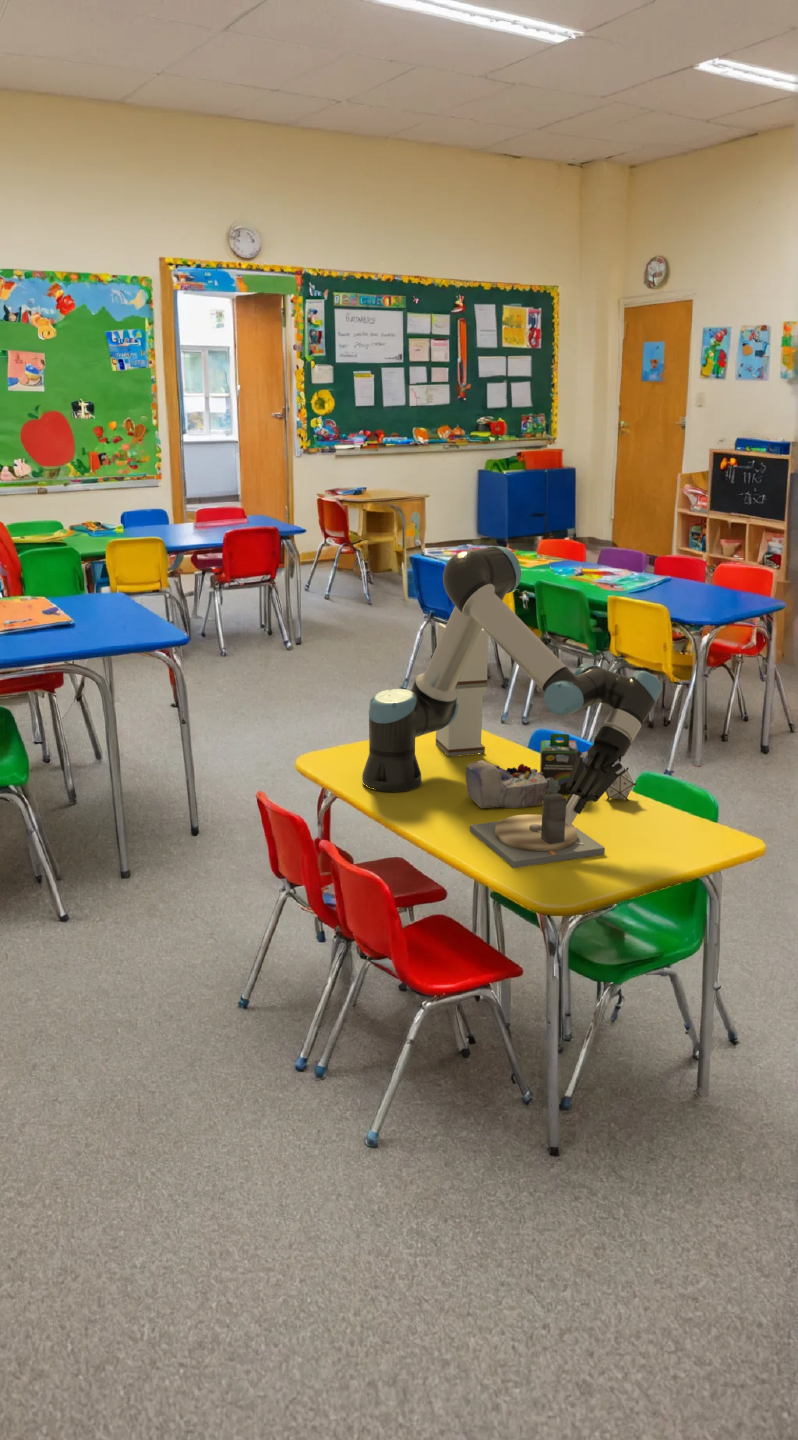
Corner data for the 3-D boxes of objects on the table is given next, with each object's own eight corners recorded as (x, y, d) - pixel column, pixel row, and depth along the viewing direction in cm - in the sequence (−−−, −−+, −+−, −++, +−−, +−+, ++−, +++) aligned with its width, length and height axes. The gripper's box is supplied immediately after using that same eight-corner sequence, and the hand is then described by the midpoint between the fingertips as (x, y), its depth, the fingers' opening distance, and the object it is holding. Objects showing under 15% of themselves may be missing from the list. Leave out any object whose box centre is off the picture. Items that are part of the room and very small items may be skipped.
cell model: (460, 756, 273) (532, 749, 280) (458, 798, 276) (530, 790, 283) (484, 772, 261) (559, 764, 269) (482, 815, 264) (556, 807, 272)
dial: (481, 827, 253) (482, 779, 250) (550, 816, 260) (552, 769, 257) (520, 856, 237) (522, 805, 234) (592, 844, 244) (595, 794, 241)
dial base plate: (469, 831, 255) (470, 824, 254) (555, 819, 263) (555, 812, 262) (513, 868, 235) (513, 860, 235) (604, 854, 243) (604, 846, 242)
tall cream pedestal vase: (484, 753, 310) (488, 629, 300) (448, 756, 307) (451, 631, 298) (470, 742, 321) (474, 621, 311) (435, 744, 318) (438, 623, 308)
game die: (620, 816, 275) (626, 794, 267) (590, 798, 279) (595, 776, 271) (638, 791, 280) (645, 769, 272) (609, 774, 283) (615, 751, 275)
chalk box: (574, 783, 287) (577, 728, 283) (576, 795, 279) (579, 738, 275) (538, 781, 288) (541, 726, 284) (539, 793, 280) (542, 737, 275)
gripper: (647, 749, 246) (595, 839, 240) (601, 736, 256) (549, 823, 250) (633, 731, 241) (579, 822, 236) (586, 718, 251) (533, 806, 245)
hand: (564, 822), depth 243 cm, fingers closed
